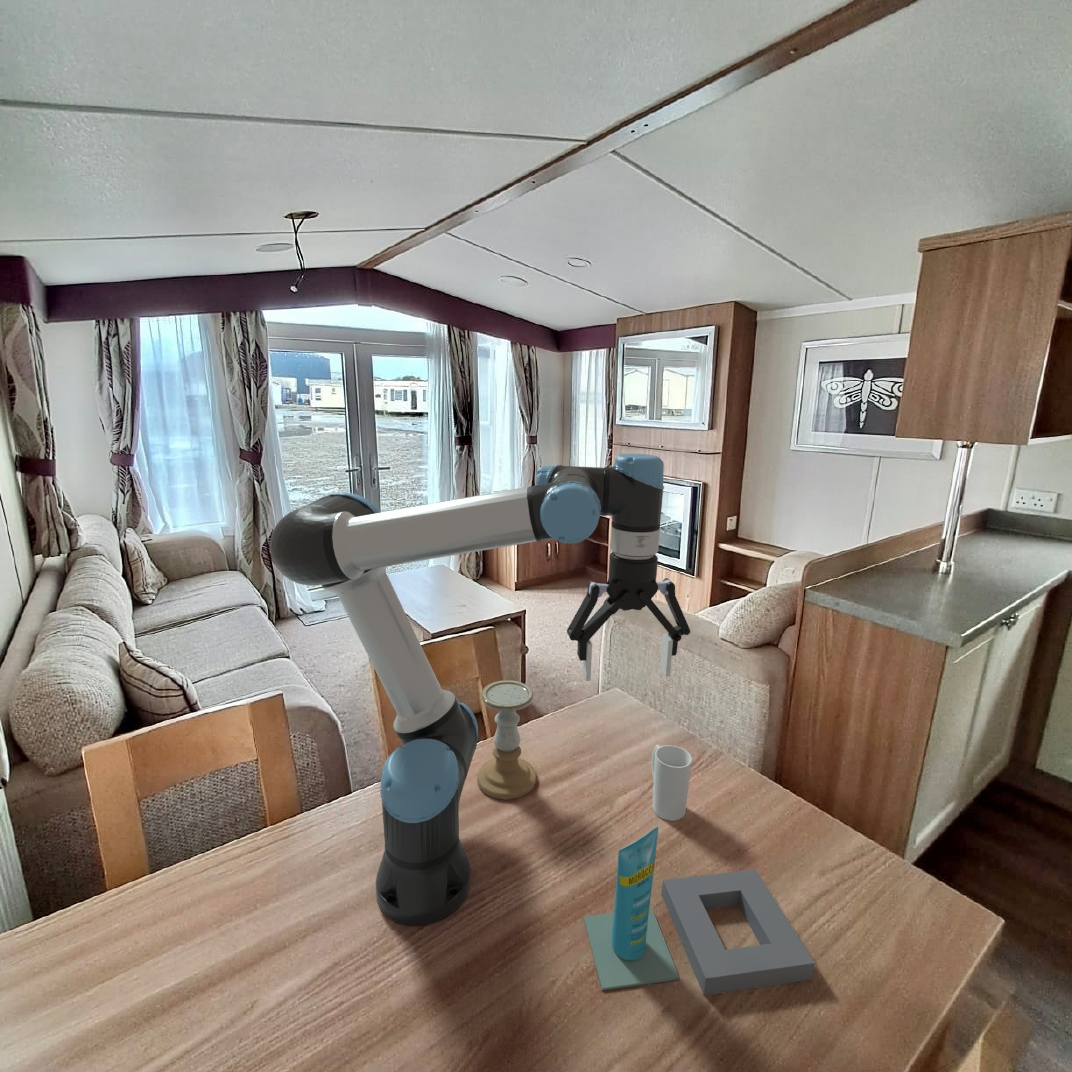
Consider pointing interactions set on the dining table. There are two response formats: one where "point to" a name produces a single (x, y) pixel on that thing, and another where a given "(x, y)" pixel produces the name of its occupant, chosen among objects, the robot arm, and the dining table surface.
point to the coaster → (629, 972)
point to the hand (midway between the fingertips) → (626, 674)
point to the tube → (633, 896)
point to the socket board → (735, 967)
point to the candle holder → (506, 743)
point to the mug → (670, 781)
